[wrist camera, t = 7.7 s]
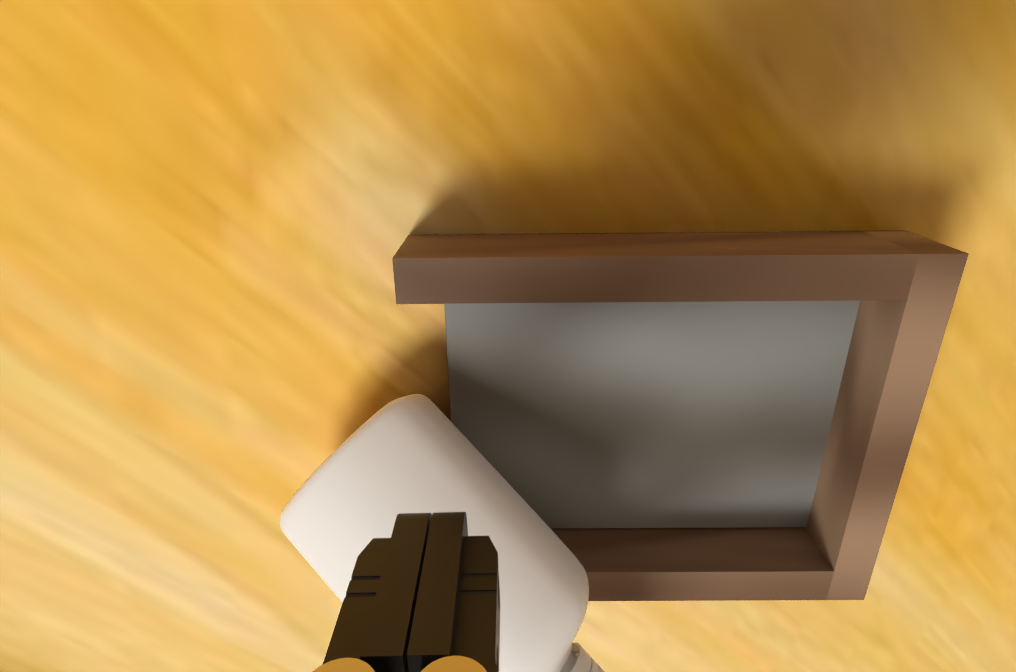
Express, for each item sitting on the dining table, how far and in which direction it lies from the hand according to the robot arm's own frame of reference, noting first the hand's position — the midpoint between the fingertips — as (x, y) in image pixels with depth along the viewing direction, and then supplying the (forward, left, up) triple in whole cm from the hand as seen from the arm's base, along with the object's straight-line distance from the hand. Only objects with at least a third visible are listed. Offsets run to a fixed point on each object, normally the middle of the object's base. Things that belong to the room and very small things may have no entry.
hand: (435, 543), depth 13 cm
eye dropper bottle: (+1, -3, -5) cm, 6 cm away
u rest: (0, +5, -6) cm, 8 cm away
